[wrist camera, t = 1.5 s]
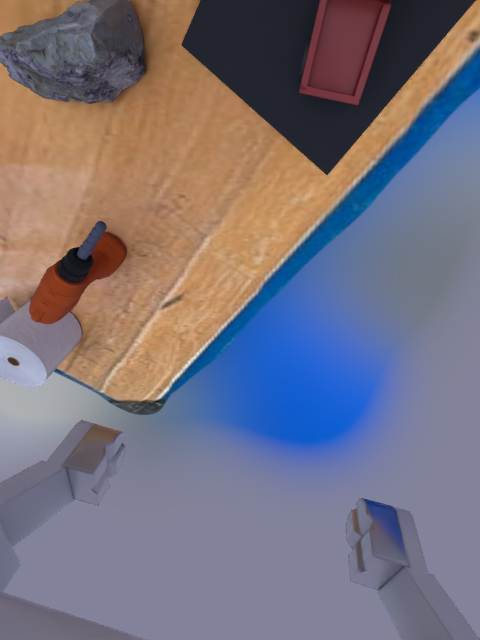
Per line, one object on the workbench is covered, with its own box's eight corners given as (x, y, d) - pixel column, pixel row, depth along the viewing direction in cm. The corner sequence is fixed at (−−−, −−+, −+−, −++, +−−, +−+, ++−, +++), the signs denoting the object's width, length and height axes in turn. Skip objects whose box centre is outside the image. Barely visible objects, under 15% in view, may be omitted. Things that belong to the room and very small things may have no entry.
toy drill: (176, 196, 37) (108, 259, 26) (110, 277, 49) (43, 345, 38) (143, 164, 36) (56, 216, 25) (83, 256, 47) (5, 320, 36)
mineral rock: (24, 82, 34) (-60, 79, 26) (21, -58, 28) (-92, -119, 20) (137, 136, 36) (89, 149, 28) (158, 15, 29) (105, -14, 21)
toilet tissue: (87, 351, 58) (54, 392, 50) (27, 339, 59) (-16, 378, 51) (75, 303, 52) (35, 342, 44) (7, 291, 52) (-45, 327, 44)
